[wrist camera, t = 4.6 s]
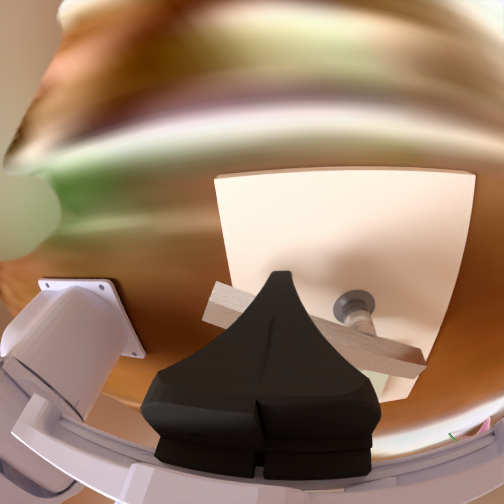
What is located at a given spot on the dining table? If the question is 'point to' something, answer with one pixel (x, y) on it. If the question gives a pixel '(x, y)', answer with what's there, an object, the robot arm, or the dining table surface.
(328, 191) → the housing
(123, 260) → the dining table surface
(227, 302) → the t key
